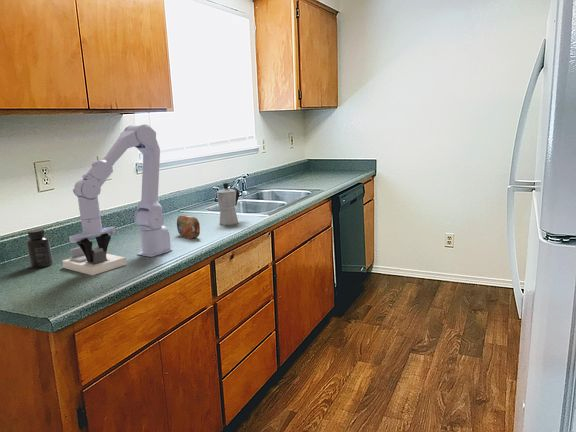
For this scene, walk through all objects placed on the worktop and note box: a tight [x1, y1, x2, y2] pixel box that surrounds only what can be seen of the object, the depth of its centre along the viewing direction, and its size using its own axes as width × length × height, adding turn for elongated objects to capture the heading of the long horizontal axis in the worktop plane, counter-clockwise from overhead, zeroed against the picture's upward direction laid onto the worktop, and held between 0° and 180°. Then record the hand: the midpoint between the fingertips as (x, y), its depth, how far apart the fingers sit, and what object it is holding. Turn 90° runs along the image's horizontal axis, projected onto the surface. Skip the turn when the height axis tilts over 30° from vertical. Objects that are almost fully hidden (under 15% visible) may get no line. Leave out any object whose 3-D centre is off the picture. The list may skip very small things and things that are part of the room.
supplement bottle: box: [25, 228, 54, 269], centre depth 154 cm, size 7×7×12 cm
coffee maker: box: [215, 182, 240, 227], centre depth 204 cm, size 15×9×18 cm, turn 148°
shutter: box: [68, 246, 87, 262], centre depth 151 cm, size 7×7×3 cm
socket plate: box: [62, 253, 127, 276], centre depth 150 cm, size 12×17×3 cm
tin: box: [176, 215, 201, 240], centre depth 184 cm, size 15×3×8 cm, turn 40°
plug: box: [88, 246, 107, 265], centre depth 147 cm, size 4×4×6 cm
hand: (96, 259), depth 147 cm, fingers closed on plug, 4 cm apart
